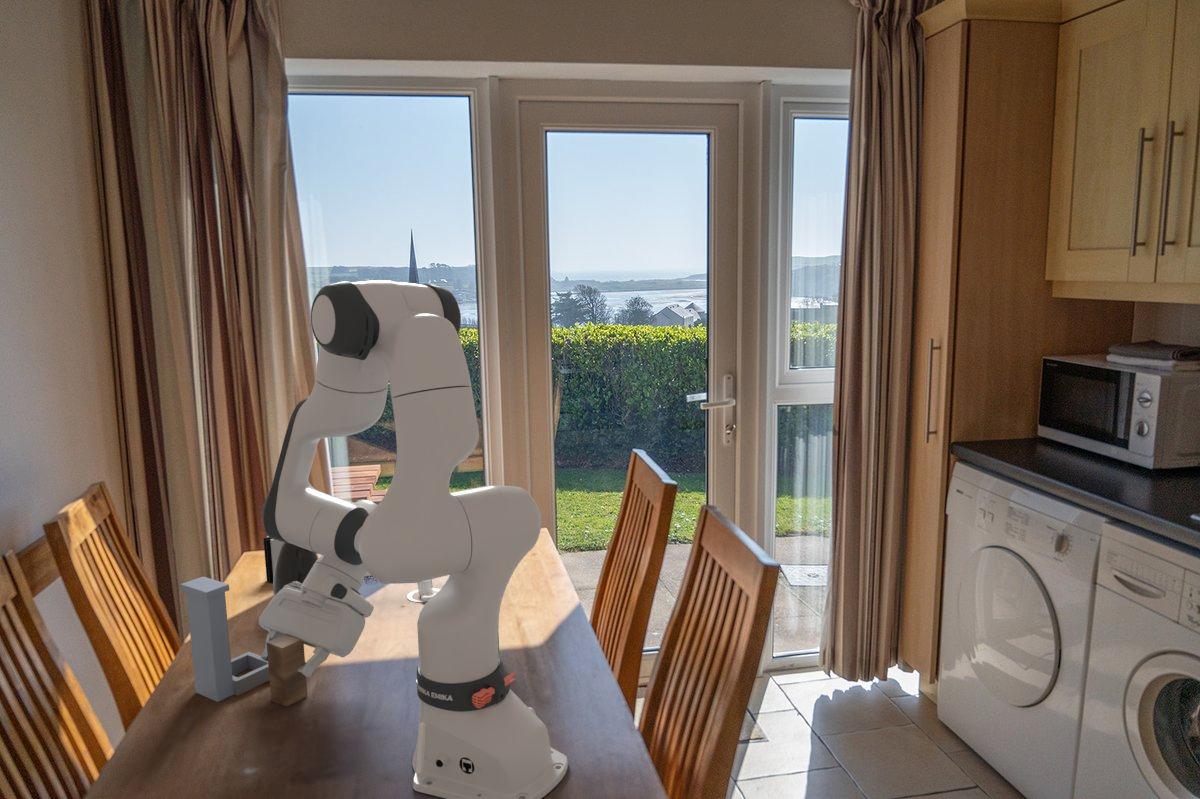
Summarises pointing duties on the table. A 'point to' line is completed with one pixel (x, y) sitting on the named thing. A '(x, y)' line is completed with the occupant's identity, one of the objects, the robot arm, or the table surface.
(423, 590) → the white ring with cylinder
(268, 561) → the hinge
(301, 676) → the wooden square post
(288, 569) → the pump dispenser
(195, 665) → the grey tower with tray
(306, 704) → the table surface
